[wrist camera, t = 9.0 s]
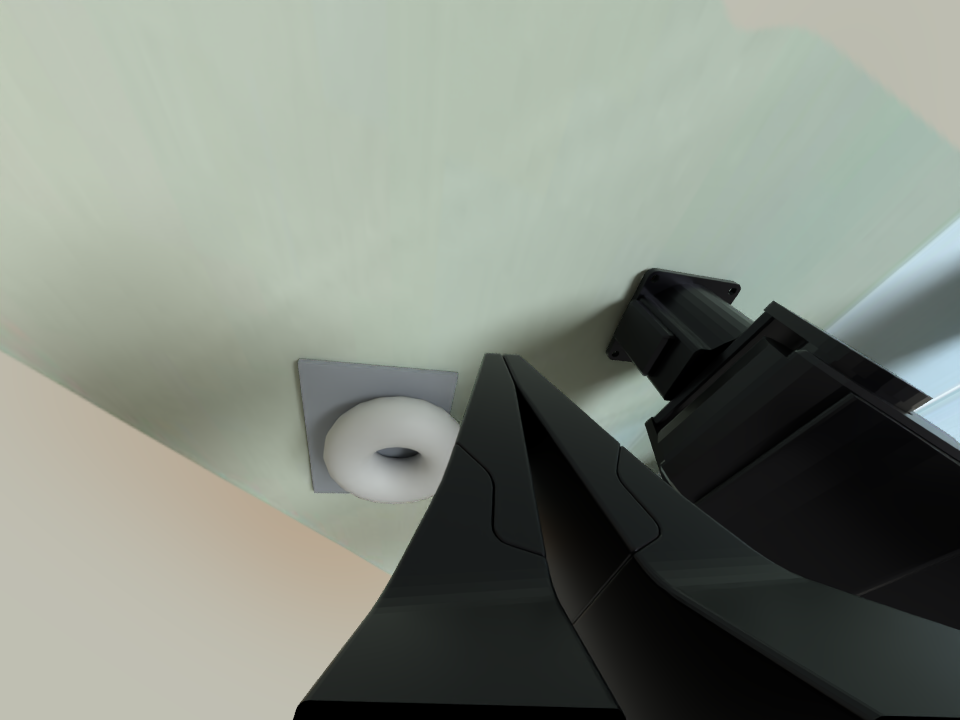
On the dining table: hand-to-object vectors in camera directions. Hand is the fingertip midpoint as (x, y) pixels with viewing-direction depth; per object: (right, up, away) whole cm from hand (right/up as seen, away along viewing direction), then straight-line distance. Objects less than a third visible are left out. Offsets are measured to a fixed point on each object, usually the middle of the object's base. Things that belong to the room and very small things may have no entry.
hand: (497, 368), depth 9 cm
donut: (-3, -9, +19) cm, 22 cm away
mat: (-8, -6, +18) cm, 21 cm away
